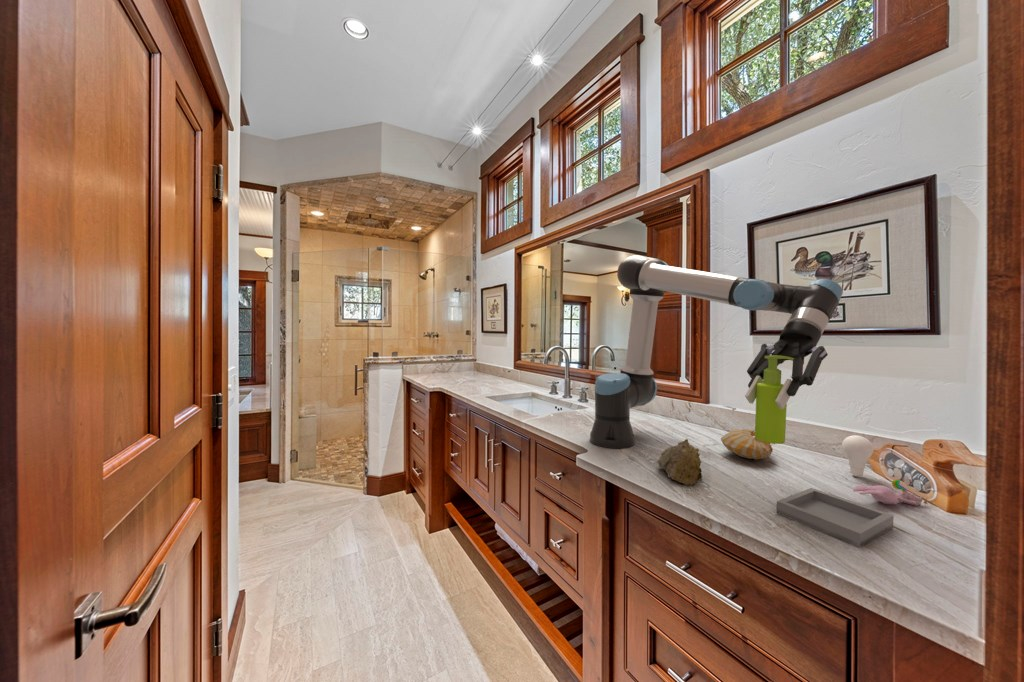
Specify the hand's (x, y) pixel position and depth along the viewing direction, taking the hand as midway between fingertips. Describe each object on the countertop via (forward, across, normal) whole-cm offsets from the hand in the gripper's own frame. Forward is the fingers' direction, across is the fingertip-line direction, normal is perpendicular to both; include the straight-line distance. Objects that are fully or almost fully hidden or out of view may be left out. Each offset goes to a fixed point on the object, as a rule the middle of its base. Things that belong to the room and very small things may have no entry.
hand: (763, 402), depth 85 cm
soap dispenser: (+4, 0, -9) cm, 10 cm away
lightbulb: (-9, -4, -41) cm, 42 cm away
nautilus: (-3, +18, -36) cm, 40 cm away
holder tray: (+14, -12, -19) cm, 26 cm away
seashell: (+20, +19, -13) cm, 30 cm away
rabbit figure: (0, -14, -33) cm, 36 cm away
